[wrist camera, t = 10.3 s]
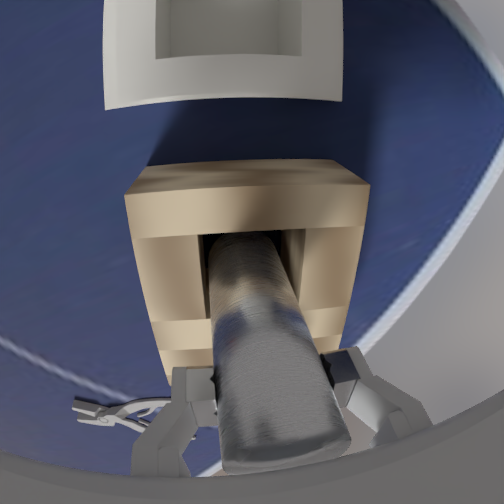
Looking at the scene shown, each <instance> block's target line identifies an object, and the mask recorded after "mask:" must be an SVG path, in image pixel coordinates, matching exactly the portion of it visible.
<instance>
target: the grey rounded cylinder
mask: <svg viewBox="0 0 504 504" xmlns="http://www.w3.org/2000/svg"><path fill="white" fill-rule="evenodd" d="M208 269H209V294H210V315H211V334H212V350H213V366H214V375H215V390H216V400H217V417H218V428H219V438H220V448H221V458H222V467H223V470H224V471H225V472H226V473H227V474H229V475H240V474H250V473H259V472H266V471H273V470H280V469H286V468H292V467H297V466H303V465H308V464H313V463H317V462H322V461H326V460H330V459H334V458H338V457H339V456H341V455H342V454H343V453H344V452H345V451H346V450H347V449H348V448H349V446H350V444H351V437H350V434H349V431H348V429H347V426H346V423H345V421H344V418H343V415H342V413H341V410H340V408H339V405H338V402H337V400H336V397H335V395H334V392H333V389H332V387H331V384H330V382H329V379H328V376H327V374H326V371H325V369H324V366H323V364H322V361H321V359H320V356H319V354H318V351H317V349H316V346H315V344H314V341H313V339H312V336H311V334H310V331H309V329H308V326H307V324H306V321H305V319H304V316H303V314H302V311H301V309H300V306H299V304H298V301H297V299H296V296H295V294H294V292H293V289H292V287H291V284H290V282H289V279H288V277H287V275H286V272H285V270H284V267H283V265H282V263H281V260H280V258H279V255H278V253H277V251H276V248H275V246H274V244H273V242H272V241H271V240H270V238H269V237H268V236H266V235H265V234H263V233H262V232H260V231H247V232H229V233H225V234H223V235H222V236H221V237H219V238H218V239H217V240H216V241H215V243H214V244H213V245H212V247H211V249H210V252H209V256H208Z"/></svg>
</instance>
